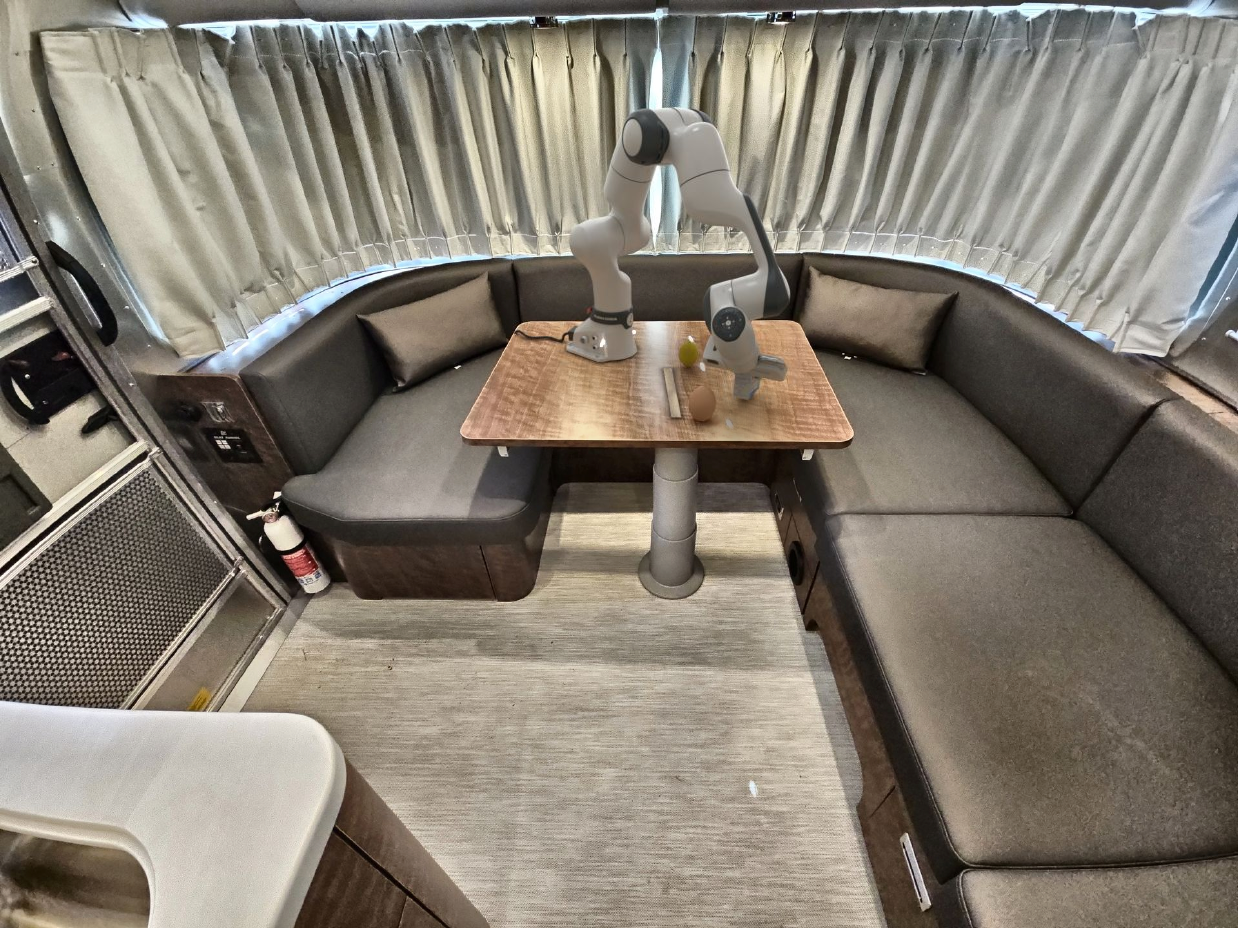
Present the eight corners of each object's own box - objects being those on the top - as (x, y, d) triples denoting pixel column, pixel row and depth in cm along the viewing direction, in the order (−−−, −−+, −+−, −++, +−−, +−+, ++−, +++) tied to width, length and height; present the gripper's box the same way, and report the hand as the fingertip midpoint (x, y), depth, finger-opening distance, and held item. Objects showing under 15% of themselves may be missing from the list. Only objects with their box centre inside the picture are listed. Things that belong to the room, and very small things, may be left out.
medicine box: (748, 401, 136) (752, 370, 130) (731, 396, 138) (735, 366, 132) (759, 388, 141) (763, 358, 136) (743, 384, 143) (747, 354, 138)
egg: (699, 410, 135) (701, 377, 130) (720, 419, 131) (723, 386, 126) (681, 419, 131) (683, 386, 126) (702, 429, 127) (705, 395, 122)
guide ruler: (671, 418, 132) (671, 417, 132) (663, 369, 155) (663, 368, 155) (681, 418, 132) (681, 417, 132) (671, 369, 155) (671, 368, 155)
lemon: (685, 372, 153) (686, 346, 148) (674, 365, 157) (675, 339, 152) (701, 368, 155) (703, 342, 150) (690, 361, 159) (692, 336, 154)
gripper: (788, 349, 120) (793, 371, 133) (704, 333, 129) (715, 355, 141) (780, 375, 120) (785, 395, 132) (696, 357, 128) (708, 377, 141)
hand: (748, 374), depth 137 cm, fingers closed on medicine box, 4 cm apart
